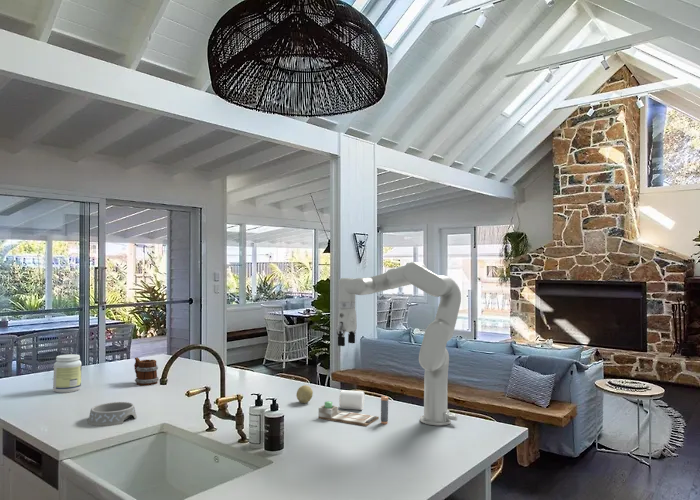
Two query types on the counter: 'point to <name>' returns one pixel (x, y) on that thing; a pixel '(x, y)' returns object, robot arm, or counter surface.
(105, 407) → the dog bowl
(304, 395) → the potato
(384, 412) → the cylinder
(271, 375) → the counter surface
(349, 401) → the mug
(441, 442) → the counter surface
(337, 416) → the cream tray
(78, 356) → the supplement tub
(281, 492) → the counter surface
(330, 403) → the button
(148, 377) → the mug
